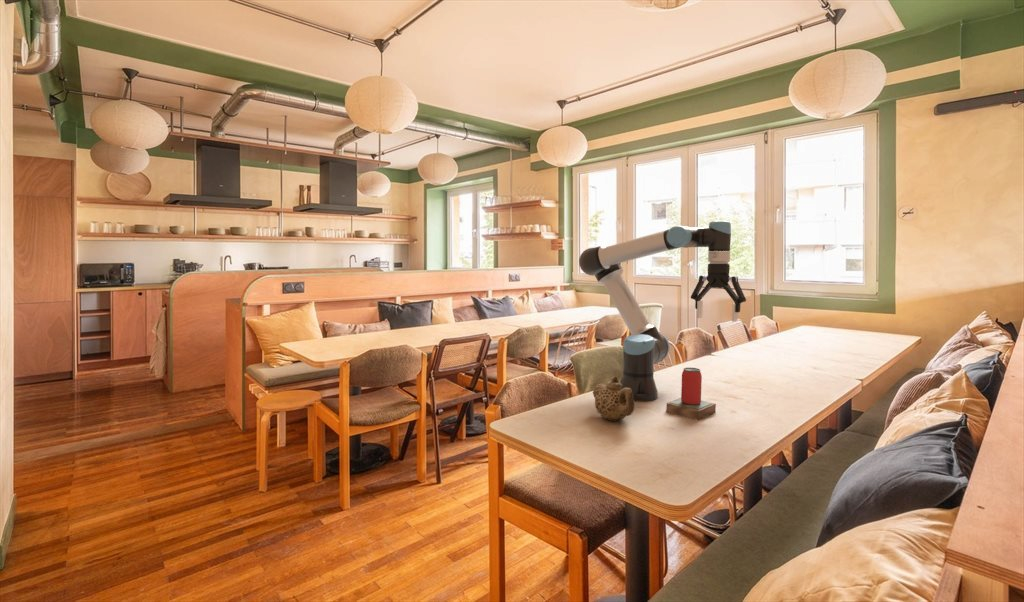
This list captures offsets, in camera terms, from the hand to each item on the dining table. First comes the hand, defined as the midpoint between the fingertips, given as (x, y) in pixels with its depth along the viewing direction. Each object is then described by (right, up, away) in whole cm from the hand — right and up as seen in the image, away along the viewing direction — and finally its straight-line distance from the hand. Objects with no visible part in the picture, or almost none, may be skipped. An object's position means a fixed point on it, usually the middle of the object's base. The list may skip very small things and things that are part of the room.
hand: (716, 319), depth 186 cm
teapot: (-43, -33, -21) cm, 58 cm away
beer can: (-14, -29, -13) cm, 35 cm away
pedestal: (-14, -32, -13) cm, 37 cm away
